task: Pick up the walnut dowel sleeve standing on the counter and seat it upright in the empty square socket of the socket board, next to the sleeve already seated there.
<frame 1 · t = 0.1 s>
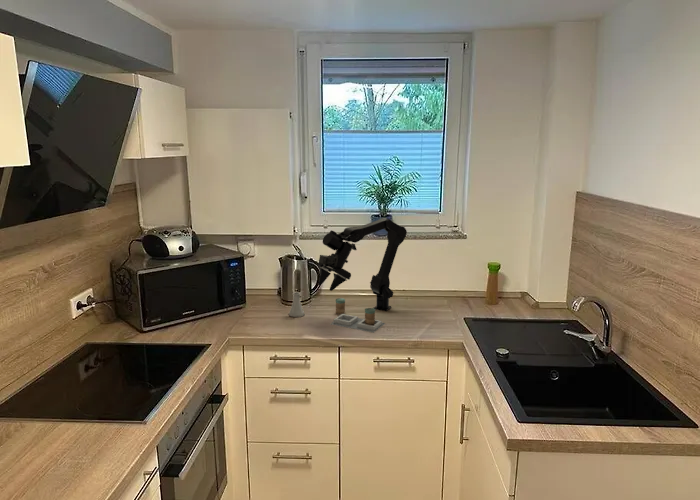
hand: (324, 287, 214), 15 cm above the worktop, tool tilted 30°, fingers open, 9 cm apart
sleeve: (340, 314, 225), on the worktop
seated sleeve: (369, 325, 209), point 1 cm above the worktop, touching socket board
socket board: (357, 326, 211), on the worktop
flask: (296, 315, 225), on the worktop
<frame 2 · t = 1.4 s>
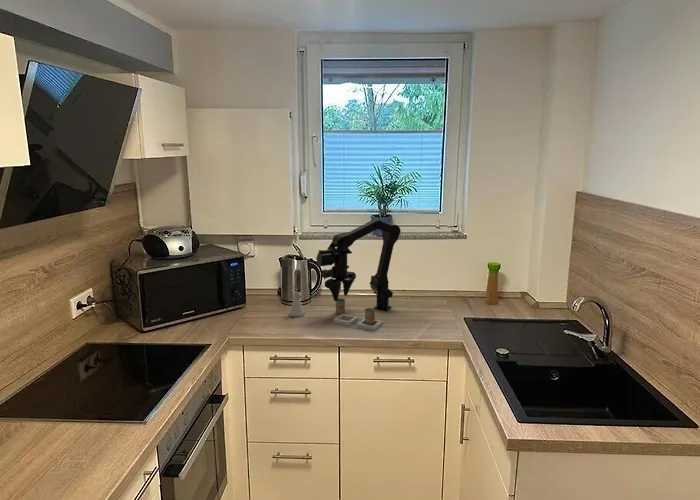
hand: (340, 298, 223), 8 cm above the worktop, tool pointing down, fingers open, 9 cm apart
nothing on the worktop moved.
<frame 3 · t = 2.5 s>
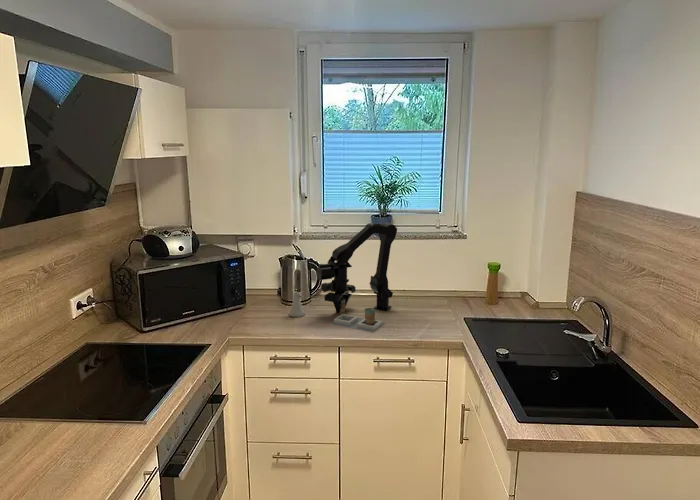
hand: (340, 311, 225), 2 cm above the worktop, tool pointing down, fingers closed on sleeve, 4 cm apart
sleeve: (340, 314, 225), on the worktop, touching gripper
everything else where it was.
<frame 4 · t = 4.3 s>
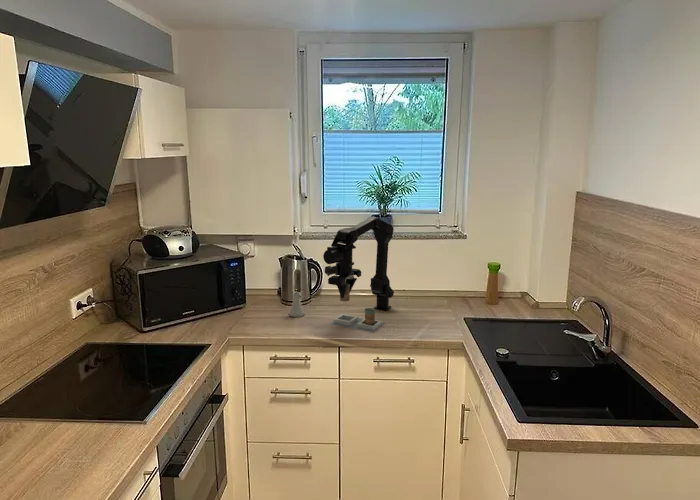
hand: (344, 296, 212), 12 cm above the worktop, tool pointing down, fingers closed on sleeve, 4 cm apart
sleeve: (344, 299, 213), point 10 cm above the worktop, touching gripper
everything else where it was.
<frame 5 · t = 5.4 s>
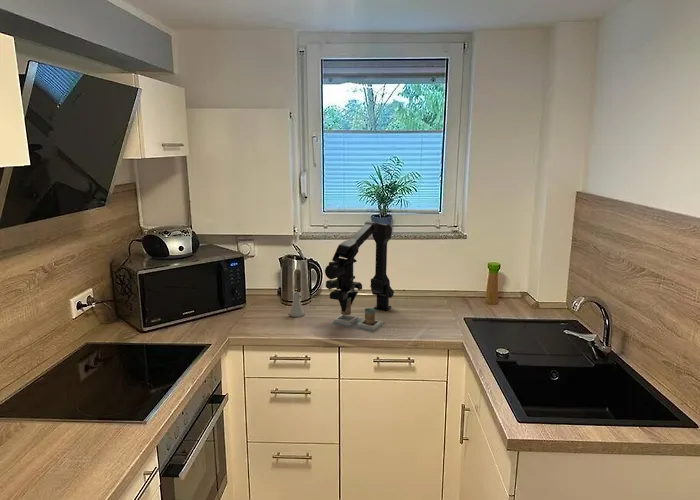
hand: (346, 310, 212), 6 cm above the worktop, tool pointing down, fingers closed on sleeve, 4 cm apart
sleeve: (346, 313, 213), point 5 cm above the worktop, touching gripper
everything else where it was.
when the fingers open (4 cm above the worktop, at t = 6.2 s): sleeve stays where it is, resting on socket board.
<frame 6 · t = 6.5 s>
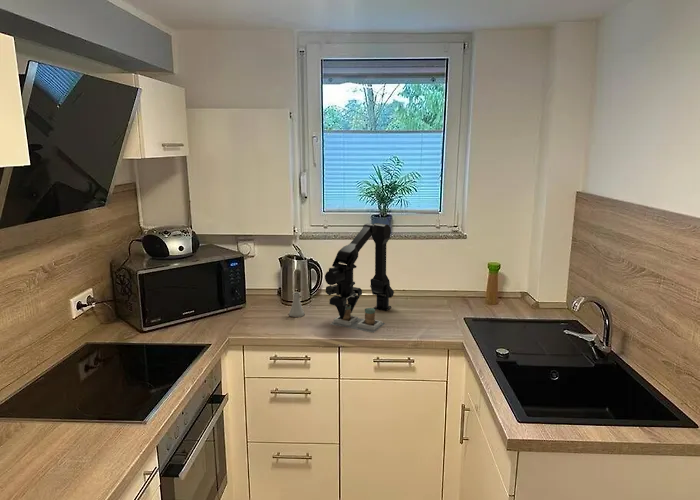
hand: (346, 315, 213), 4 cm above the worktop, tool pointing down, fingers open, 7 cm apart
sleeve: (345, 321, 213), point 1 cm above the worktop, touching socket board
everything else where it was.
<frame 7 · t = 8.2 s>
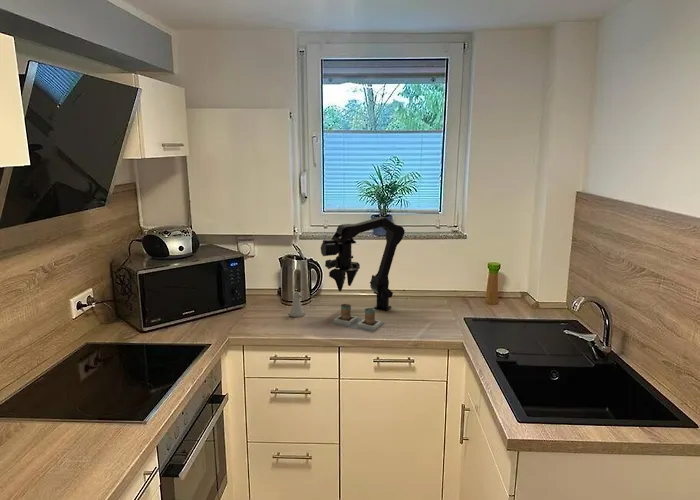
hand: (344, 288, 223), 12 cm above the worktop, tool pointing down, fingers open, 9 cm apart
nothing on the worktop moved.
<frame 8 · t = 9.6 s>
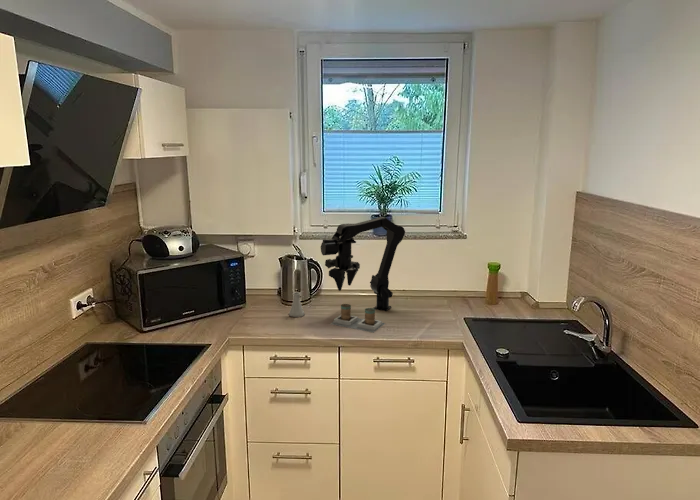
hand: (344, 287, 224), 12 cm above the worktop, tool pointing down, fingers open, 9 cm apart
nothing on the worktop moved.
at the end: sleeve 0.1 cm from the target spot on the socket board, point 1.2 cm above the socket board's base; sleeve tilted 0°; the gripper is holding nothing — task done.
